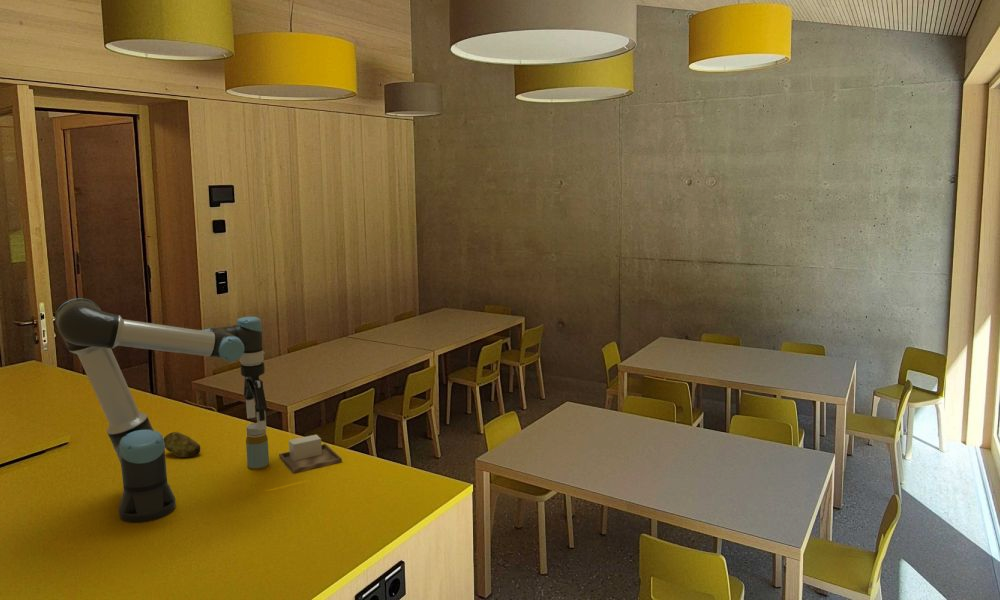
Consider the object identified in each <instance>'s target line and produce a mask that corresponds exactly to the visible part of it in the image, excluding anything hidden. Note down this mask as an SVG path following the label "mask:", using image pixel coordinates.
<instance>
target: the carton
mask: <svg viewBox="0 0 1000 600" xmlns="http://www.w3.org/2000/svg"><path fill="white" fill-rule="evenodd" d="M321 445H322V438H321V437H320V436H319V435H318V434H313V435H312V434H311V435H307V436H302V437H298V438H297V437H296V438H292V439H288V447H289V448H288V449H289V451H288V452H290V457H291V458H292V459H293V460H294V461H296V460H300V459H305V458H309V457H314V456H318V455H322V447H321Z"/></svg>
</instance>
